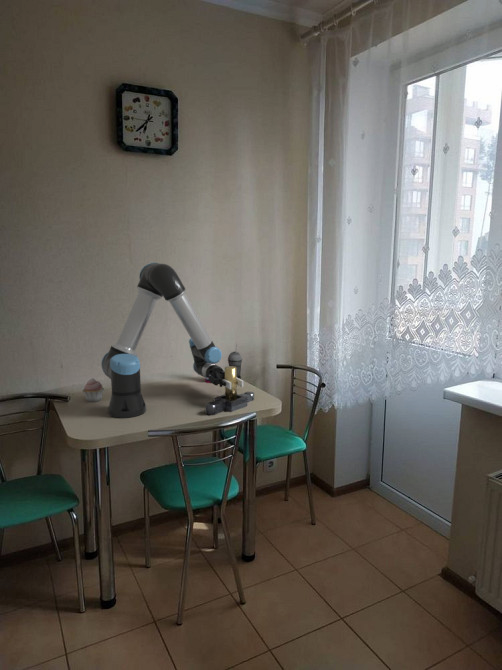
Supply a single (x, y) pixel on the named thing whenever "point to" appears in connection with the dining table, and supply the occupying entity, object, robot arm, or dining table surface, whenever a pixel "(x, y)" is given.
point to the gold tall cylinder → (231, 377)
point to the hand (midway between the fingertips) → (236, 384)
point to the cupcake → (93, 390)
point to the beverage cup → (235, 360)
